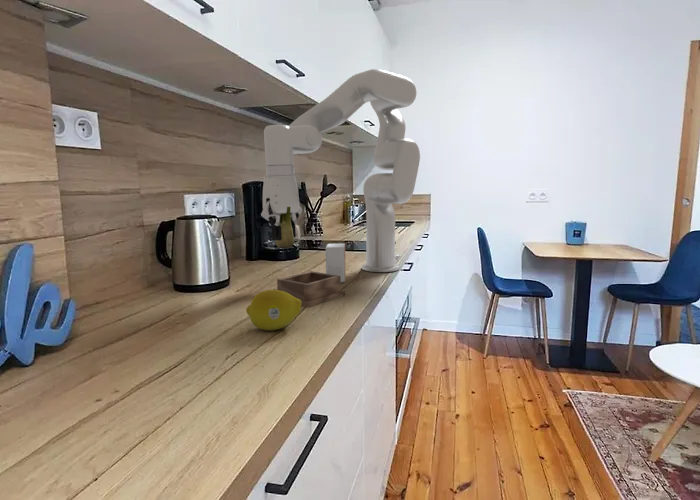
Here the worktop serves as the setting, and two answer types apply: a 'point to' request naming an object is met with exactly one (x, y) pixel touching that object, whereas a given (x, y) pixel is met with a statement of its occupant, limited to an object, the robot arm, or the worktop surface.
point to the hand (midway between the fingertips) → (284, 237)
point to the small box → (335, 260)
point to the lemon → (273, 309)
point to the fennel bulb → (285, 231)
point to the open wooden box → (312, 287)
